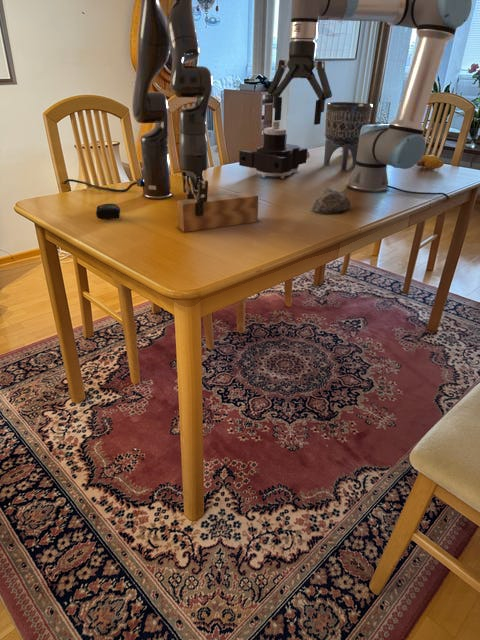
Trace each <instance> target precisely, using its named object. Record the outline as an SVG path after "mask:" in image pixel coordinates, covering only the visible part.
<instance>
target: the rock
mask: <svg viewBox="0 0 480 640" xmlns="http://www.w3.org/2000/svg"><path fill="white" fill-rule="evenodd" d="M351 207H352V204H351V201H350V199H349V198H348V196H347V195H346V194H344V193H342V192H340V191H337V190H334V189H332V188H329V187H325V189H324V190H323V192H321V193H320V194H319V195H318V196H317V197H316V198H315V200H314V202H313V205H312V210H313V211H314V212H316V213H318V212H319V213H322V214H335V213H337V214H339V213H343V212H344V210H348V209H349V208H351Z"/></svg>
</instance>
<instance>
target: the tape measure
mask: <svg viewBox="0 0 480 640" xmlns="http://www.w3.org/2000/svg"><path fill="white" fill-rule="evenodd" d="M95 216H96V218H97V219H99V220H106V221H111V220H115V219H116V220H117V219H118V220H119V219H120V218H121V217H120V216H121V207H119V205H118V204H116V203H102V204H99V205H97V207H96V211H95Z"/></svg>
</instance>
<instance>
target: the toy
mask: <svg viewBox="0 0 480 640" xmlns="http://www.w3.org/2000/svg"><path fill="white" fill-rule="evenodd" d="M444 165H445V163H444V161H443V160H440V159H439V158H438V157H437V156H436V155H433V154H428V155H423V156H422V158H421V160H420V161H419V162H418V163H417V164H416V166H418V167H422V168H426V169H428V170H432V171H433V170H436V169H439V168H443V166H444Z"/></svg>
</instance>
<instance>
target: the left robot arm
mask: <svg viewBox="0 0 480 640" xmlns="http://www.w3.org/2000/svg"><path fill="white" fill-rule="evenodd" d="M193 3H194V2H193V0H174V1H173V4H172V5H171V8H170V10H169V13H168V16H166V13H165V11H164V9H163V7H162V5H161V3H160V0H140V11H139V12H140V13H139V21H138V22H139V23H138V35H137V55H136V56H137V58H136V72H135V80H134V87H133V94H132V103H131V107H132V110H131V111H132V116H133V119H134V120H135V121H136V122H137V123H139V124H154V127H153V128H152V129H151V130H150V131H148V132H146V133H144V134H142V135H140V137H139V138H140V139H139V142H140V153H141V164H142V167H140V171H141V172H140V174H141V178H136V181H133V182H132V183H130V184H129V185H128V186H127V187H126V188H123V189H117V188H112V187H111V188H110V187H103V186H99V185H96V184H91V183H89V182H87V181H82V180H78V179H73V178H68V179H66V181H65V180H64V181H63V182H62V185H66V184H67V183H68V182H72V183H78V184H82V185H85V186H86V185H87V186H88V187H91V188H95V189H97V190H102V191H103V190H104V191H111V192H115V193H116V192H117V193H124V192H128V191H129V190H130V189H131V188H132V187H133V186H135V185H136V186H137V187H139V188H142V195H143V196H144V197H145V198H147V199H150V200H163V199H168V198H170V197H172V188H171V187H172V186H171V185H172V183H171V168H170V167H171V165H170V151H169V103H168V99H167V96H166V94H165V93H164V92H162V91H150V88H151V85H152V83H153V81H154V80H155V79H156V77H157V76H158V75H159V73H160V72H161V71H162V70H163V68H164V67H165V66H166V64H167V62H168V60H169V58H170V55H171V68H170V80H169V84H170V85H169V86H170V89H171V91H172V93H173V94H174V95H175V97H176V98H180V99H184V98H185V99H188V98H189V99H190V98H191V99H193V98H196V99H195V102H194V103H193V105H190V106H187V107H185V108H181V109H180V110H179V113H178V122H179V123H178V124H179V125H178V127H179V140H178V145H179V146H178V148H179V167H180V169H181V170H182V171H181V181H182V191H183V193H184V194H185V197H186V199H195V214H196V216H203V214H204V209H203V202H207V197H208V194H209V193H208V192H209V181H208V180H205V179H204V175H203V172H205V171H206V170H208V168H209V157H208V156H209V154H208V153H209V152H208V136H207V114H208V108H209V103H210V98H211V94H212V90H213V86H214V85H213V84H214V83H213V74H212V73H211V71H210V69H209V68H208V67H206V66H204V65H203V66H202V65H185V64H189V63H192V62H194V61H196V60H197V59H198V57H199V56H200V44H199V40H198V34H197V29H196V24H195V16H194V6H193Z"/></svg>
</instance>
